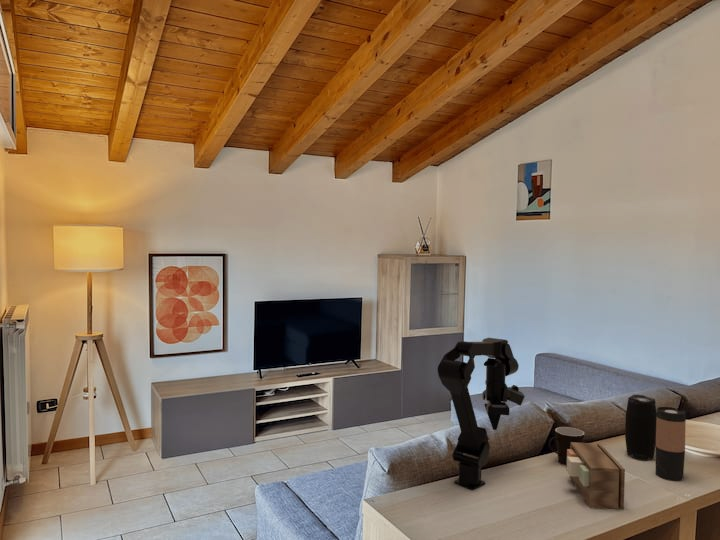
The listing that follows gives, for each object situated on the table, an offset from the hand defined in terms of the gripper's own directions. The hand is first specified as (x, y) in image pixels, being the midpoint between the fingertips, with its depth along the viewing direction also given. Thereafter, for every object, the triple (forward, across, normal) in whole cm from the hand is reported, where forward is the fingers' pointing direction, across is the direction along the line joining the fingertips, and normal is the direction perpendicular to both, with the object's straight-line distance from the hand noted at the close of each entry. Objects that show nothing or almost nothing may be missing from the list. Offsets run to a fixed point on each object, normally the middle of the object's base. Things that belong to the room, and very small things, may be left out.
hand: (494, 429), depth 165 cm
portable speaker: (+12, +18, -49) cm, 53 cm away
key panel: (+12, -13, -26) cm, 31 cm away
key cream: (+7, -13, -22) cm, 26 cm away
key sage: (+7, -19, -24) cm, 31 cm away
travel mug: (+12, +2, -52) cm, 53 cm away
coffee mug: (+12, +8, -23) cm, 27 cm away
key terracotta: (+7, -7, -23) cm, 25 cm away
